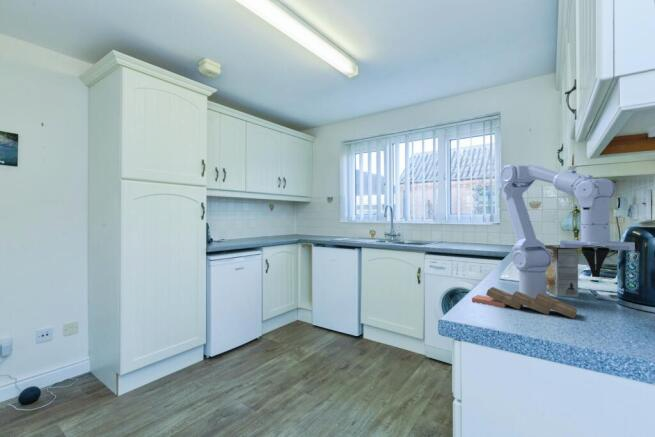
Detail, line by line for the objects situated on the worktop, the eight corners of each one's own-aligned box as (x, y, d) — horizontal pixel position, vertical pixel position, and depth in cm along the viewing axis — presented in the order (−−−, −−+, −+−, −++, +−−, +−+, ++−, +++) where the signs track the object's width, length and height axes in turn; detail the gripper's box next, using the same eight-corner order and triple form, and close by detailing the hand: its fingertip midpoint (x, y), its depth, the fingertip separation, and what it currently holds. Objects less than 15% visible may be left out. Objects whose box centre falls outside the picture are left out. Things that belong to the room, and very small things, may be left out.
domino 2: (523, 305, 90) (491, 291, 96) (525, 300, 89) (492, 286, 95) (518, 309, 86) (486, 295, 92) (521, 304, 86) (487, 289, 92)
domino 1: (509, 305, 92) (477, 300, 98) (508, 299, 92) (477, 294, 98) (504, 309, 89) (472, 303, 95) (504, 303, 89) (471, 297, 95)
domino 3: (550, 310, 85) (514, 296, 91) (552, 304, 85) (516, 290, 90) (548, 315, 81) (511, 299, 87) (550, 309, 81) (513, 294, 87)
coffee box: (543, 289, 108) (542, 244, 108) (563, 290, 107) (563, 244, 107) (557, 296, 99) (556, 247, 99) (579, 297, 98) (579, 247, 98)
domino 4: (575, 314, 82) (536, 298, 87) (577, 308, 81) (538, 292, 87) (573, 318, 78) (533, 302, 84) (576, 312, 78) (536, 296, 83)
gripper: (558, 225, 82) (559, 275, 82) (634, 225, 72) (635, 282, 72) (561, 224, 87) (562, 271, 87) (633, 224, 77) (634, 278, 77)
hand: (595, 276), depth 80 cm, fingers closed
